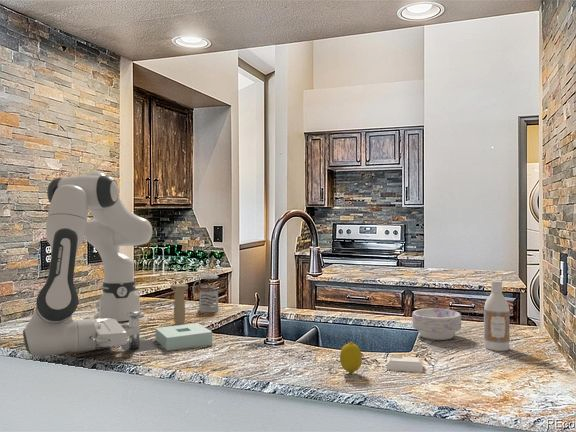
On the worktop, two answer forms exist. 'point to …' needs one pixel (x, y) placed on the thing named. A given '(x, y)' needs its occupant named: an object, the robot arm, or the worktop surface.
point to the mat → (141, 346)
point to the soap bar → (404, 364)
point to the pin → (133, 322)
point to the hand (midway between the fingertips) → (137, 328)
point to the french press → (208, 293)
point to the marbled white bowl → (436, 323)
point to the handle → (179, 303)
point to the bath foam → (496, 319)
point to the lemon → (350, 357)
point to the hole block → (183, 336)
